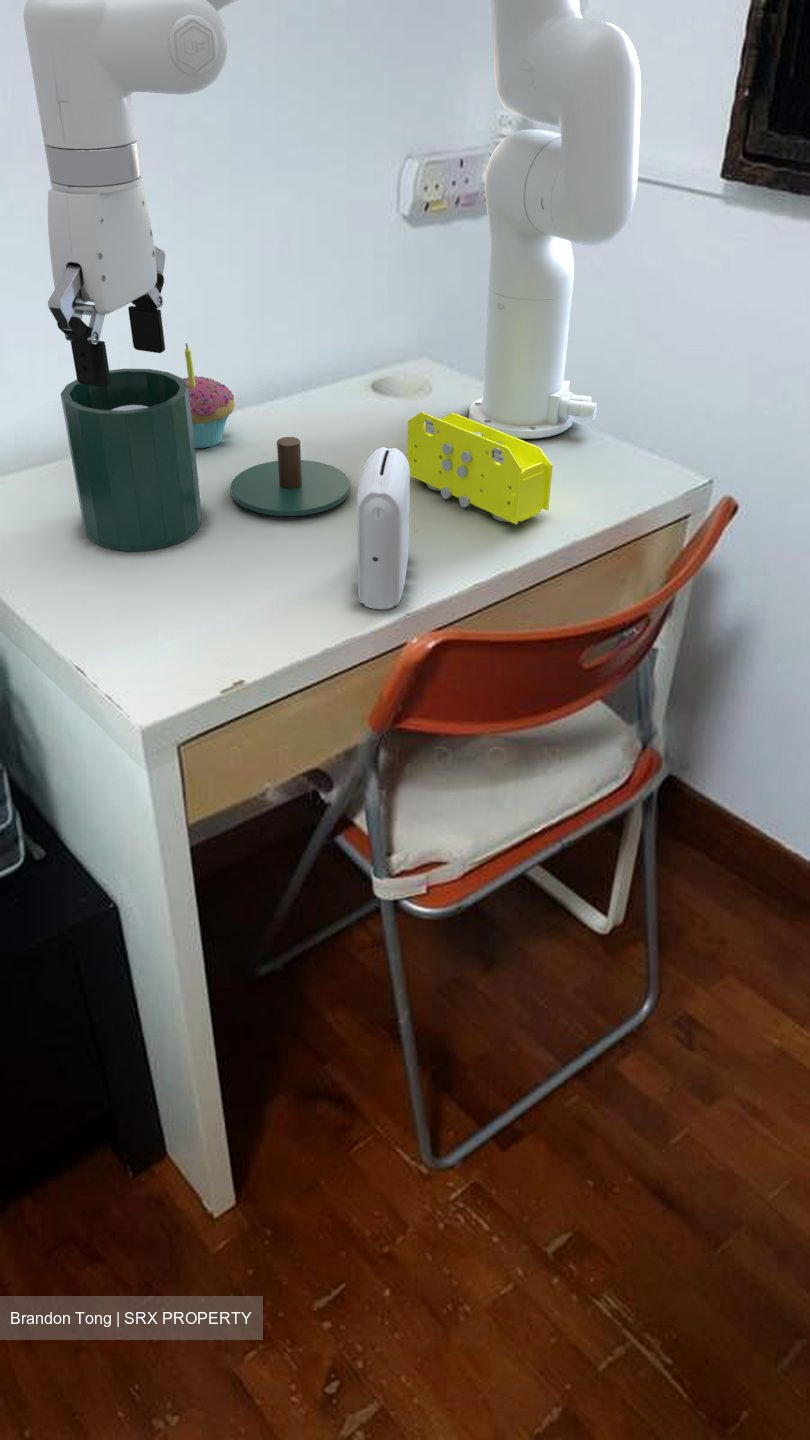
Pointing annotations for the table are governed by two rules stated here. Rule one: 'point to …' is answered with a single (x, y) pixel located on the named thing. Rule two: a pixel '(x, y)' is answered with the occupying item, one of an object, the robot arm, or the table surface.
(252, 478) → the tin lid
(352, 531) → the table surface
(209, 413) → the cupcake
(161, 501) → the tin
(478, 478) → the yellow toy chassis
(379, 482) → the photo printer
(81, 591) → the table surface
